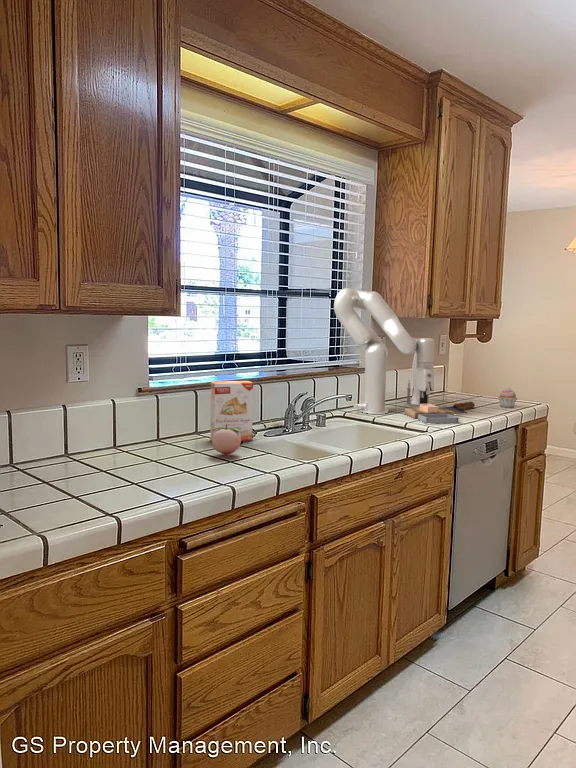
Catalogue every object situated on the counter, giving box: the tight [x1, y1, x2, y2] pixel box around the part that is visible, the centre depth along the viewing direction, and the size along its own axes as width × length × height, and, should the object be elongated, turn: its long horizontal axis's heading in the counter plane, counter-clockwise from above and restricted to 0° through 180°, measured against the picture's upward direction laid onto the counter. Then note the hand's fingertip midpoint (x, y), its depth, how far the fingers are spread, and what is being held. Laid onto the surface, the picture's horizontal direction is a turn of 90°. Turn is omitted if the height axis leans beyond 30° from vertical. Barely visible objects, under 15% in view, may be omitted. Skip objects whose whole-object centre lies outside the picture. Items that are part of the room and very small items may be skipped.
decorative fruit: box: [211, 424, 242, 456], centre depth 179 cm, size 9×8×10 cm
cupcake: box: [497, 386, 518, 409], centre depth 285 cm, size 9×9×10 cm
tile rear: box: [419, 403, 433, 411], centre depth 255 cm, size 4×4×2 cm
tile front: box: [424, 404, 439, 413], centre depth 250 cm, size 4×4×2 cm
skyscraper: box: [405, 353, 420, 407], centre depth 287 cm, size 8×8×28 cm
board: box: [404, 407, 455, 420], centre depth 254 cm, size 18×12×3 cm, turn 99°
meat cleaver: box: [442, 401, 475, 415], centre depth 268 cm, size 34×11×4 cm, turn 129°
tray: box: [417, 414, 459, 424], centre depth 243 cm, size 14×10×2 cm
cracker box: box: [209, 380, 254, 442], centre depth 201 cm, size 14×6×21 cm, turn 112°
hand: (423, 406), depth 259 cm, fingers closed
